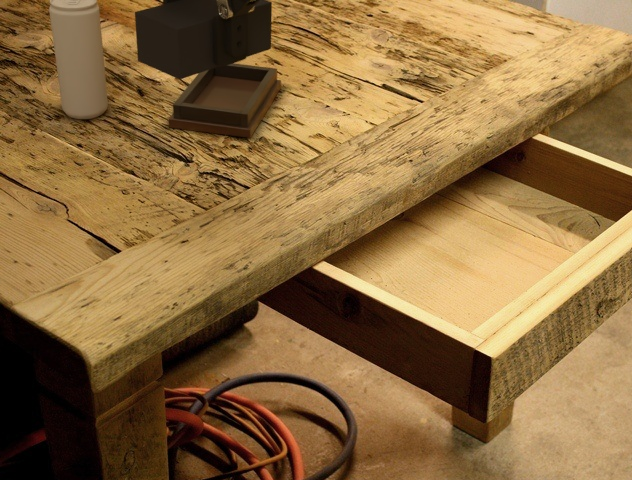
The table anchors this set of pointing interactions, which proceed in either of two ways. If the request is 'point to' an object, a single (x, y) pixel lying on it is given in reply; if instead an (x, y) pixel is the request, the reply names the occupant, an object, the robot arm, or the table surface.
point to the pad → (191, 35)
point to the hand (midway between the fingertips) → (206, 49)
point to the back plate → (226, 100)
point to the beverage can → (79, 57)
